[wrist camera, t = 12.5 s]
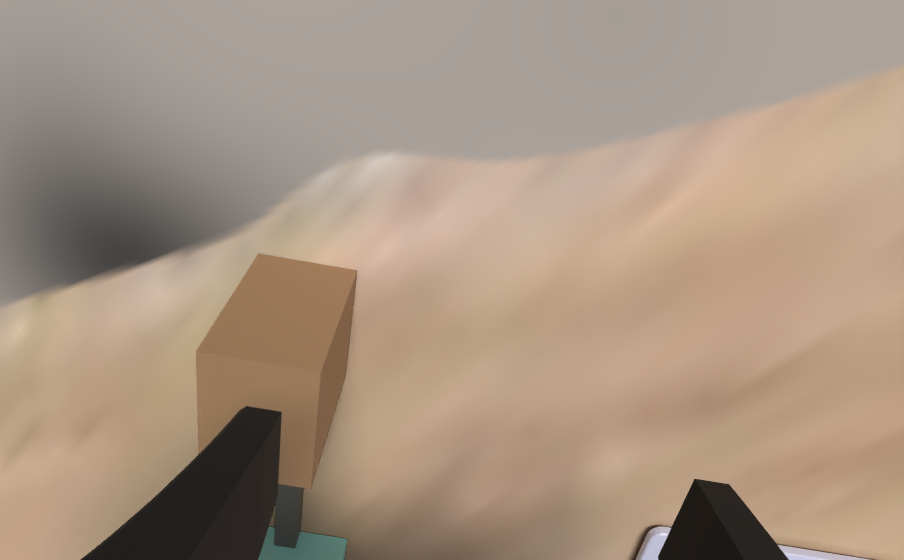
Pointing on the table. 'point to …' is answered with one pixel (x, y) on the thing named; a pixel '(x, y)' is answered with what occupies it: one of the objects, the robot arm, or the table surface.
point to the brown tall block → (282, 379)
